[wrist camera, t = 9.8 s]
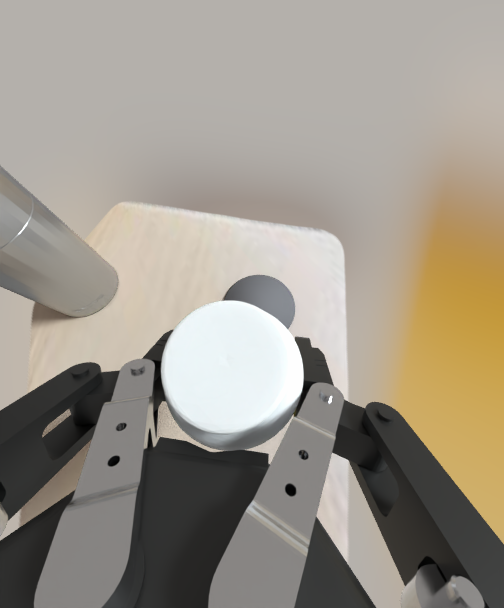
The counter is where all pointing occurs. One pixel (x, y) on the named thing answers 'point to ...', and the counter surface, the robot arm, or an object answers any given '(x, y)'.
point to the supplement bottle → (231, 375)
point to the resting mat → (265, 296)
